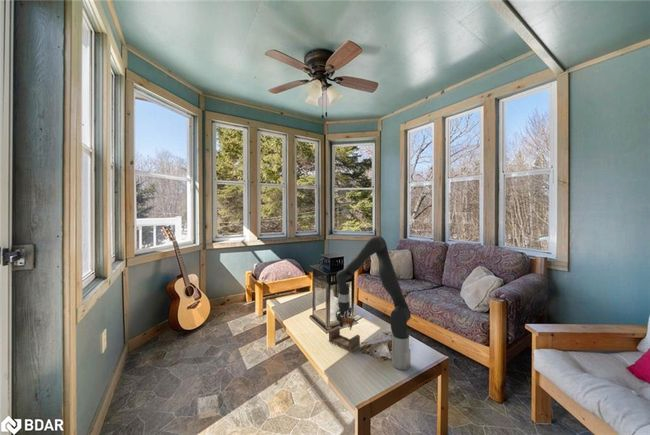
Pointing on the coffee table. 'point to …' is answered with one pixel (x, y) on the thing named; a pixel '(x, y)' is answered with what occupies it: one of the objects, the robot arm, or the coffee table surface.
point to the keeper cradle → (344, 340)
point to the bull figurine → (348, 321)
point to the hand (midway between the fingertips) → (343, 325)
